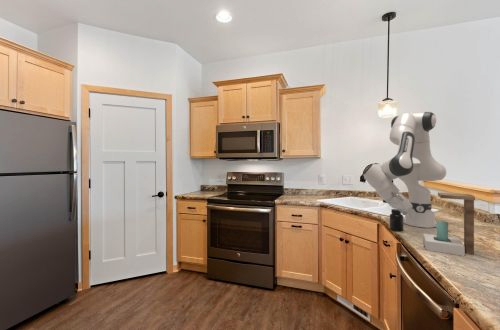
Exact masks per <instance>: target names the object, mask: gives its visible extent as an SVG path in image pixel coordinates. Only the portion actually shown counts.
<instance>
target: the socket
mask: <svg viewBox="0 0 500 330" xmlns="http://www.w3.org/2000/svg"><path fill="white" fill-rule="evenodd" d="M422 236H423V238H422V241H423V244H424V245H423V246H424V249H425V250H426V251H432V252H437V253H444V254H449V255H457V256H463V257H464V256H465V255H466V254H465V253H466V252H465V246H464V243H463V242H462V241H461V240H460V239H459V238H458V237H451V236H448V242H444V241H437V234H436V235H435V234H428V233H423V235H422Z"/></svg>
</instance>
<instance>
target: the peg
mask: <svg viewBox="0 0 500 330" xmlns="http://www.w3.org/2000/svg"><path fill="white" fill-rule="evenodd" d="M436 224H437V227H436V235H437V241H444V242H448V237H449V222H448V221H443V220H436Z"/></svg>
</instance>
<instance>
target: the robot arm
mask: <svg viewBox="0 0 500 330" xmlns="http://www.w3.org/2000/svg"><path fill="white" fill-rule="evenodd" d="M436 123H437V117H436V114H435V113H434V112H432V111H424V112H413V113H410V112H404V113H400V114H399V115H397V116H395V117H393V119H391V122H390V127H391V129H390V133H389V141H390V142H391V143H393V144H394V145H395V146H398V149H397V153H396V154H395V155H394V156H393V157H392V158H390V159H389V160H387V161H385V162H383V163H376V164H375V163H371V164H369V165H368V166H367V167H366V168H365V169H364V170H363V172H362V176H363V177H364V179H365V180H366V181H367V183H368V184H369V185H370V187H372V188H373V189H374V190H375V191H376V193H377V195H379V198H381V199H382V200H383V201H385V202H386V203H387V205H389V207H391V209H398V210H399V211H400V212H401V214H402V215H403V216H404V218H403V225H404V224H406V225H409V226H411V227H418V228H427V229H429V228H437V222H436V219H435V218H436V215H435V212H434V211H433V210H432V203H431V197H432V195H431V191H430V189H429V188H427V186H423V185H421V184H420V183H419V182H420V181H421V182H422V181H424V182H435V181H436V182H437V181H438V182H439V181H442V180H443V179H445V177H446V176H447V169H446V167H445V166H444V165H443V164H442V163H440V162H439V161H437V160H436V159H435V157H434V156H433V154H432V151H431V145H430V143H431V140H430V132H431V130H433V129H434V128H435V127H436ZM413 159H416V160H418V161H419V162H418V163H414V161H413ZM396 179H399V180H400V181H402V182H403V183H404V185H405V186H406V188H407V191H408V192H407V194H408V199H407V198H406V196H404V195H403V194H402V193H400V191H401V190H400V189H399V188H398V187H397V185H396V184H395V183H394V182H393V180H396Z"/></svg>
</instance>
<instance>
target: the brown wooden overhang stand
mask: <svg viewBox="0 0 500 330" xmlns="http://www.w3.org/2000/svg"><path fill="white" fill-rule="evenodd" d="M437 196H438V197H439V198H440V199H447V200H448V199H449V200H463V245H464V246H465V253H466V254H469V255H475V201H476V196H475V195H473V194H470V193H460V192H459V193H455V192H437Z"/></svg>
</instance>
